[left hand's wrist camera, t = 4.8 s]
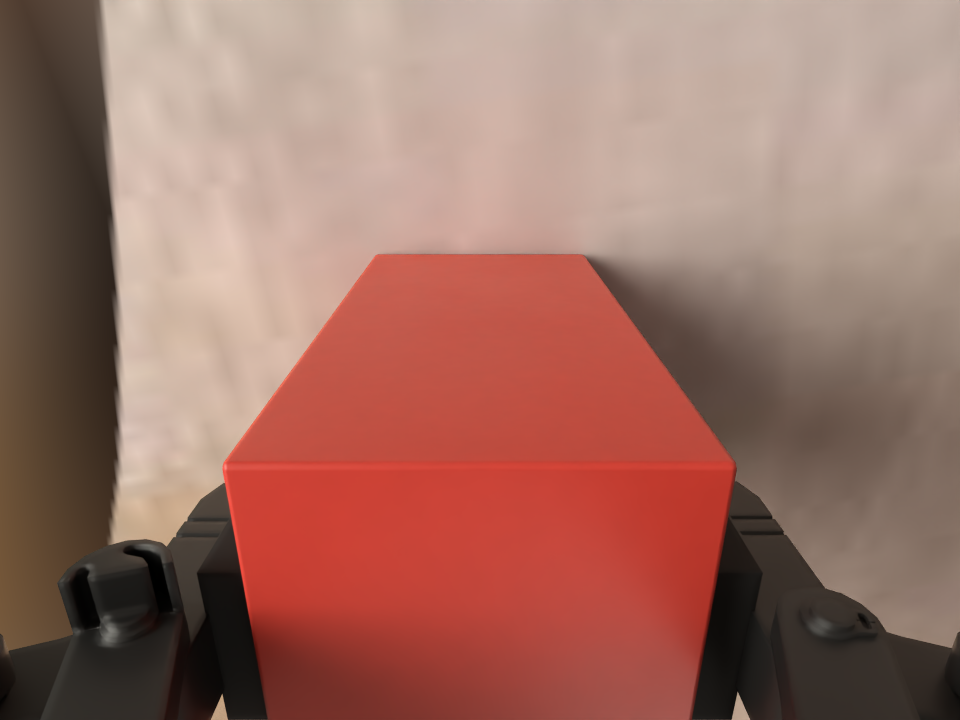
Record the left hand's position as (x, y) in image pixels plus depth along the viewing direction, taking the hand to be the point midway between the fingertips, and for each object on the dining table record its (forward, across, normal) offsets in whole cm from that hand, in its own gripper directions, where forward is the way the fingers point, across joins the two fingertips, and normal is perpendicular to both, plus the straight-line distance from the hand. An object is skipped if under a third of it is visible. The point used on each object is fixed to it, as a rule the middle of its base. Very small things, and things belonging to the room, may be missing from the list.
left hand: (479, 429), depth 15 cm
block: (+4, 0, 0) cm, 4 cm away
